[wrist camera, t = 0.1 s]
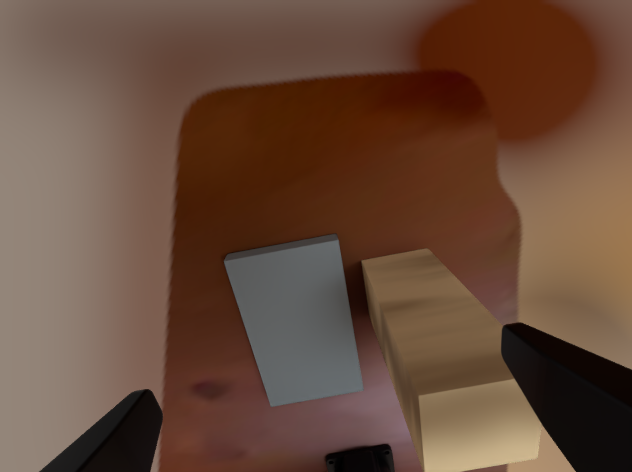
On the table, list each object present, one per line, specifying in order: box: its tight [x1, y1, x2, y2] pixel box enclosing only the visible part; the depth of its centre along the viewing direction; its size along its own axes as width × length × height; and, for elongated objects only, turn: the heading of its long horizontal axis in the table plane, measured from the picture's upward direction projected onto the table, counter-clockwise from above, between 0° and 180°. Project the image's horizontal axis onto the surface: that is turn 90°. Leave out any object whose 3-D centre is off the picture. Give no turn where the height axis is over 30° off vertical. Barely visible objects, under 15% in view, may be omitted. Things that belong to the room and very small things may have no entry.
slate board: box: [224, 234, 364, 407], centre depth 24 cm, size 14×8×1 cm, turn 10°
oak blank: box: [361, 248, 542, 472], centre depth 18 cm, size 5×5×12 cm
